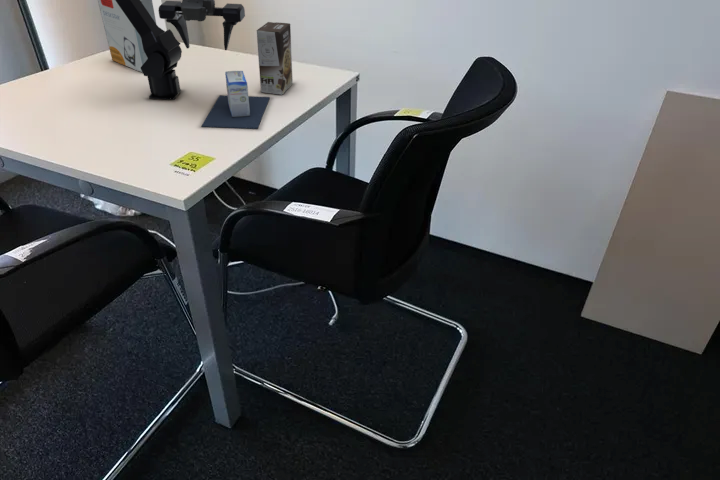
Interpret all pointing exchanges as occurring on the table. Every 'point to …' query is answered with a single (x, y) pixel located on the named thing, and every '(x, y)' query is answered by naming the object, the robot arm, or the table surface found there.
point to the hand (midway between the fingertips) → (207, 48)
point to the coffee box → (275, 57)
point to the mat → (224, 119)
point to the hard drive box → (123, 34)
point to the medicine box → (237, 93)
